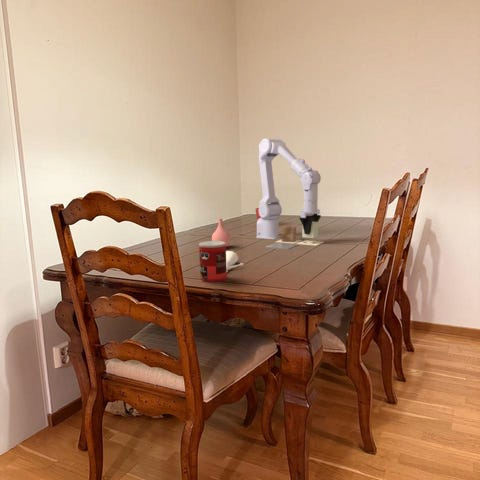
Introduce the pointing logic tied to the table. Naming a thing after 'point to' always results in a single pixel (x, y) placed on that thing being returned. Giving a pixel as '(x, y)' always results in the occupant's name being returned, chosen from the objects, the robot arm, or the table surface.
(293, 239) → the walnut block
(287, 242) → the plain tile
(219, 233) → the perfume bottle
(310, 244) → the tile
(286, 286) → the table surface
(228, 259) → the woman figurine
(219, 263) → the canned food
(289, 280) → the table surface
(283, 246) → the light grey square plate
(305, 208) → the robot arm
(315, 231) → the sage block
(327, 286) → the table surface
